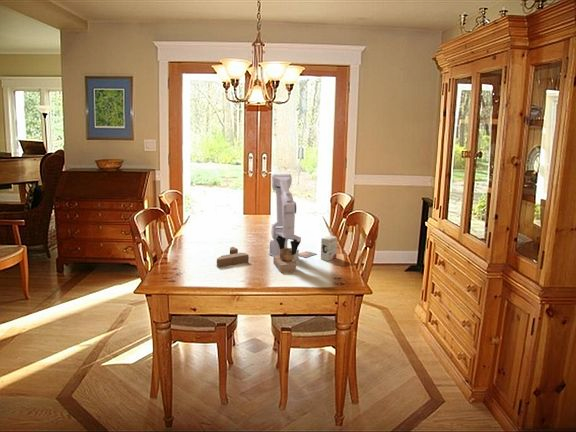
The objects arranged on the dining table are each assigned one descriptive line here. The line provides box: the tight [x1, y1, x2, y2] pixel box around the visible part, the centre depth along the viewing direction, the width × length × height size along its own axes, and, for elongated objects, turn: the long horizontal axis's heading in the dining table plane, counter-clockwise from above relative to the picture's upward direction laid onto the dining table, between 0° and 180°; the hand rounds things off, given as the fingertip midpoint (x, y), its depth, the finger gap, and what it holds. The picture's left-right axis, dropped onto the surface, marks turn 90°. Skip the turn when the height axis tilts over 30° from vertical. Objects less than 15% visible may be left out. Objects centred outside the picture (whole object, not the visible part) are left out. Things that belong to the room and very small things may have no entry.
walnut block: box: [280, 247, 294, 261], centre depth 247 cm, size 5×5×5 cm
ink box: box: [320, 235, 338, 262], centre depth 263 cm, size 9×5×12 cm, turn 141°
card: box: [299, 251, 317, 259], centre depth 270 cm, size 7×10×1 cm
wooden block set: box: [216, 246, 250, 268], centre depth 255 cm, size 17×6×18 cm
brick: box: [272, 255, 297, 273], centre depth 247 cm, size 17×8×5 cm, turn 14°
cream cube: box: [290, 247, 300, 262], centre depth 262 cm, size 5×5×5 cm
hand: (287, 252), depth 246 cm, fingers open, 7 cm apart
